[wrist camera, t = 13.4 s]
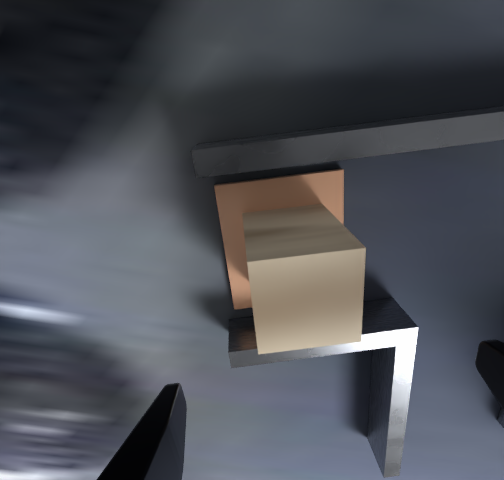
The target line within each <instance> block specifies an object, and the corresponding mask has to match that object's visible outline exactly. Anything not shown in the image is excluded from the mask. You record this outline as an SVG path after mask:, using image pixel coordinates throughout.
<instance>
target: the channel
mask: <svg viewBox="0 0 504 480" xmlns="http://www.w3.org/2000/svg"><path fill="white" fill-rule="evenodd" d="M498 140H504V106H498V107H490V108H482V109H474V110H466V111H458V112H450V113H442V114H434V115H426V116H418V117H410V118H402V119H394V120H386V121H378V122H370V123H362V124H354V125H346V126H338V127H330V128H321V129H313V130H305V131H297V132H289V133H281V134H273V135H265V136H257V137H249V138H241V139H233V140H225V141H217V142H209V143H201V144H197V145H196V146H195V147H194V148H193V149H192V150H191V154H192V159H193V165H194V170H195V175H196V178H204V177H212V176H220V175H228V174H236V173H244V172H252V171H260V170H268V169H276V168H284V167H292V166H300V165H308V164H316V163H323V162H331V161H339V160H347V159H355V158H363V157H371V156H379V155H387V154H395V153H403V152H411V151H419V150H427V149H435V148H443V147H451V146H459V145H467V144H475V143H483V142H490V141H498ZM417 334H418V326H417V325H416V324H415V323H414V322H413V320H412V319H411V318H410V317H409V316H408V315H407V314H406V312H405V311H404V310H403V309H402V308H401V307H400V306H399V304H398V303H397V302H396V301H395V300H394V299H393V298H388V299H381V300H373V301H365V302H363V315H362V335H361V342H355V343H347V344H339V345H331V346H322V347H314V348H306V349H298V350H290V351H282V352H274V353H266V354H258V348H257V340H256V332H255V324H254V316H251V317H244V318H236V319H229V351H228V353H229V358H230V363H231V368H237V367H244V366H252V365H259V364H267V363H274V362H282V361H289V360H297V359H304V358H312V357H319V356H327V355H334V354H342V353H349V352H357V351H364V350H372V365H371V383H370V401H369V418H368V436H367V439H368V441H369V443H370V446H371V448H372V451H373V453H374V455H375V458H376V460H377V463H378V465H379V467H380V470H381V472H382V475H383V477H384V478H385V477H392V476H399V475H400V467H401V459H402V451H403V443H404V436H405V428H406V420H407V412H408V404H409V397H410V389H411V381H412V373H413V365H414V358H415V350H416V342H417ZM497 421H498V422H499V423H500V424H501V425H502V427H503V428H504V410H503V409H502V407H501V410H500V413H499V416H498V420H497Z"/></svg>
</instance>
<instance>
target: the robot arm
mask: <svg viewBox="0 0 504 480" xmlns="http://www.w3.org/2000/svg"><path fill="white" fill-rule="evenodd" d="M475 364H476V368H477V370H478V372H479V373H480V375H481V376H482V378H483V379H484V381H485V382H486V384H487V385H488V387H489V388H490V390H491V392H492V393H493V395H494V396H495V398H496V399H497V401H498V402H499V404H500V405H501V407H502V409H503V410H504V343H503V342H501V341H498V340H487V341H482V342H481V343H480V344H479V348H478V352H477V356H476V361H475ZM186 411H187V408H186V401H185V397H184V394H183V390H182V387H181V385H180V383H174V384H167V385H166V386H165V387H164V388H163V389H162V391H161V392H160V393H159V395H158V396H157V397H156V399H155V400H154V402H153V403H152V404H151V406H150V407H149V408H148V410H147V411H146V413H145V414H144V415H143V417H142V418H141V419H140V421H139V422H138V424H137V425H136V426H135V428H134V429H133V430H132V432H131V433H130V435H129V436H128V437H127V439H126V440H125V441H124V443H123V444H122V446H121V447H120V448H119V450H118V451H117V452H116V454H115V455H114V457H113V458H112V459H111V461H110V462H109V463H108V465H107V466H106V468H105V469H104V470H103V472H102V473H101V474H100V476H99V477H98V479H97V480H182V473H183V464H184V447H185V429H186Z"/></svg>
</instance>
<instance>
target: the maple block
mask: <svg viewBox="0 0 504 480" xmlns="http://www.w3.org/2000/svg"><path fill="white" fill-rule="evenodd" d="M242 218H243V227H244V237H245V247H246V257H247V266H248V274H249V283H250V291H251V299H252V307H253V316H254V324H255V332H256V340H257V348H258V354H266V353H274V352H282V351H290V350H298V349H306V348H314V347H322V346H331V345H339V344H347V343H355V342H361V335H362V315H363V296H364V276H365V256H366V248H365V246H364V245H363V244H362V243H361V242H360V241H359V240H358V239H357V238H356V237H355V236H354V235H353V234H352V233H351V232H350V231H349V230H348V229H347V228H346V227H345V226H344V225H343V224H342V223H341V222H340V221H339V220H338V219H337V218H336V217H335V216H334V215H333V214H332V213H331V212H330V211H329V210H328V209H327V208H326V207H325V206H324V205H323V204H315V205H307V206H298V207H290V208H281V209H273V210H264V211H255V212H247V213H242Z"/></svg>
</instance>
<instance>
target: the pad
mask: <svg viewBox="0 0 504 480" xmlns="http://www.w3.org/2000/svg"><path fill="white" fill-rule="evenodd" d="M214 188H215V194H216V200H217V207H218V213H219V219H220V225H221V231H222V237H223V243H224V249H225V255H226V261H227V267H228V273H229V280H230V286H231V292H232V298H233V304H234V310H236V309H243V308H251V307H252V299H251V291H250V283H249V274H248V266H247V257H246V247H245V237H244V227H243V218H242V213H247V212H255V211H264V210H273V209H281V208H290V207H298V206H307V205H315V204H323V205H324V206H325V207H326V208H327V209H328V210H329V211H330V212H331V213H332V214H333V215H334V216H335V217H336V218H337V219H338V220H339V221H340V222H341V223H342V224H344V170H343V169H334V170H326V171H318V172H310V173H302V174H294V175H286V176H278V177H271V178H263V179H255V180H247V181H239V182H231V183H223V184H215V185H214Z"/></svg>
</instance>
